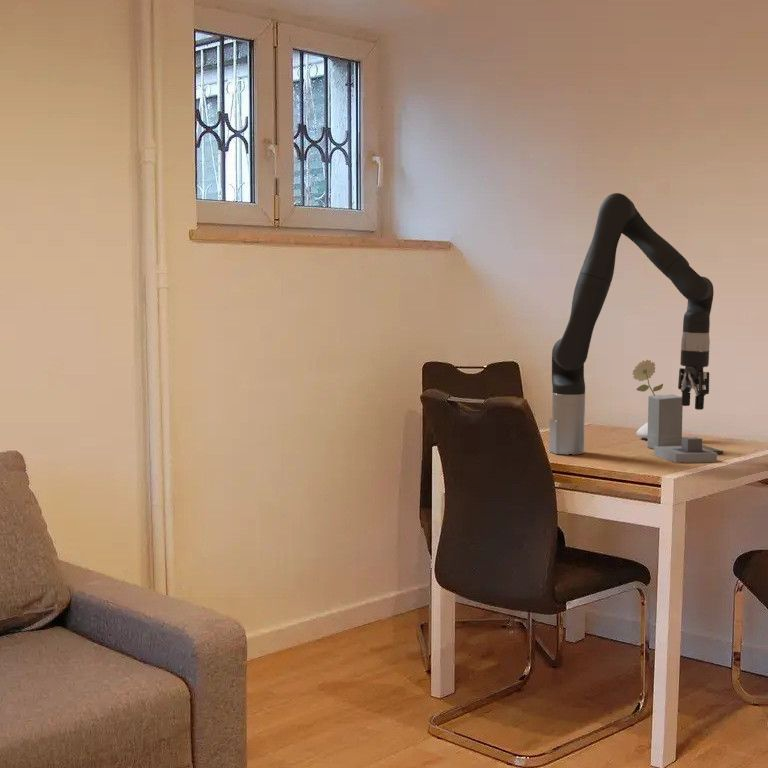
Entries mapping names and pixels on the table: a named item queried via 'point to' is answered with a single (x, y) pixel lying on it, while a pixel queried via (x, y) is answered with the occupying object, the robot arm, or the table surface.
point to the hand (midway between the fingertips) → (692, 407)
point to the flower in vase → (645, 387)
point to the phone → (712, 449)
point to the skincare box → (664, 421)
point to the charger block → (691, 444)
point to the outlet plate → (684, 454)
